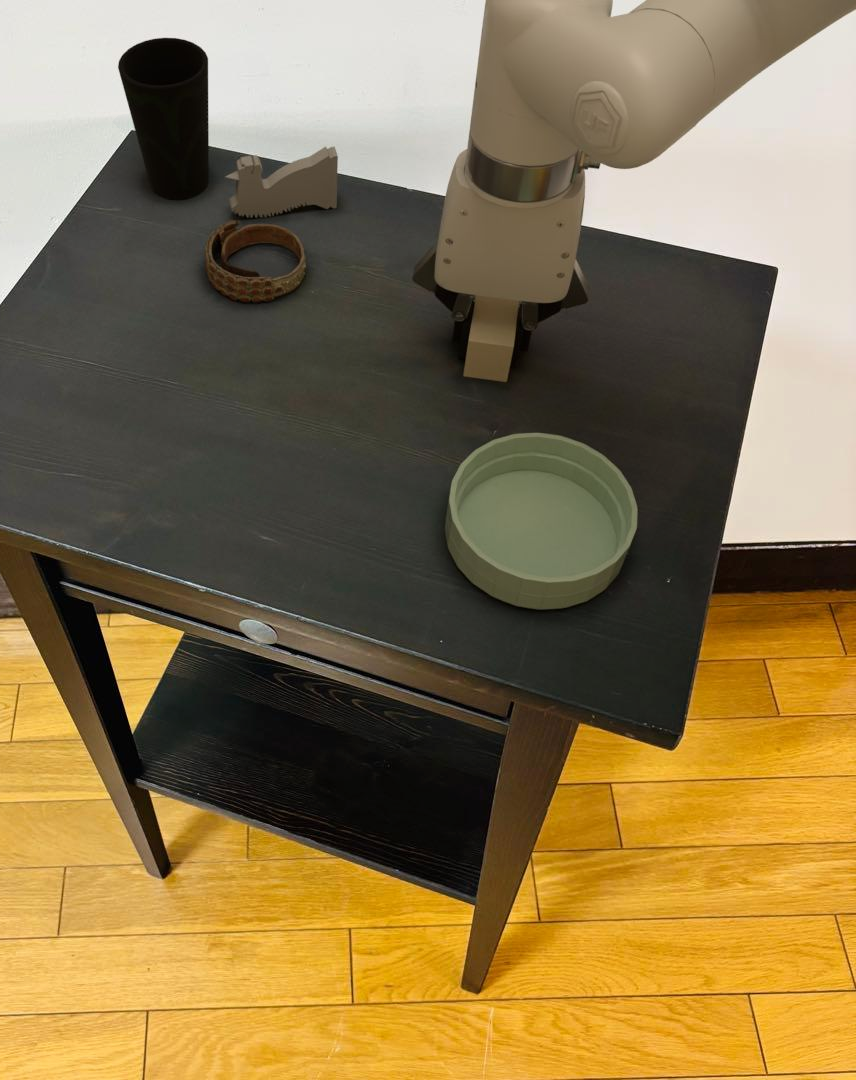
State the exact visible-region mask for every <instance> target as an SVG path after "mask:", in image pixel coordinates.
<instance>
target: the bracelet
mask: <svg viewBox="0 0 856 1080" xmlns="http://www.w3.org/2000/svg"><path fill="white" fill-rule="evenodd" d="M240 224H241V222H240V220H237V221H236V220H234V219H232V220H230V221H227V222H226V223H221V224H220V225H218V226H217V228H216V229H214V230H213V231H212V232H211V233H210V236H209V237H208V238H207V240H206V244H205V247H204V260H205V270H206V274H207V278H208V281H209V282H210V283H211V286H212V287H213V288H214V289H215V290H216V291H219V292H220V293H221V294H222V296H226V297H229V298H230V299H231V300H234V301H237V300H239V301H240V302H243V303H250V302H253V303H255V304H257V303H258V304H259V303H260V302H267V303H268V302H271V301H273V300H275V298H277V297H279V296H282V295H285V294H286V295H287V294H289V293H291V292H293V291H294V290H295V289H297V287H299V285H301V283H302V281H303V279H304V278H305V275H306V272H305V269H307V266H306V265H307V263H306V260H307V258H306V257H307V255H306V254H305V248H304V245H303V244H302V242H301V240H300V238H299V237H298V236H297V235H296V234H295V233H294V232H292V231H291V230H290V229H288V228H287V227H283V226H280V225H278V224H277V225H276V224H271V223H251V224H246V225H244V226H242V227H240V228H237V227H239V226H240ZM262 243H263V244H264V243H268V244H269V243H270V244H275V245H280V246H282V247H285V248H286V249H288V250H291V251H292V252H293V253H294V254H295V256H297V259H298V261H299V263H298V265H297V266H296V267H295V268H294V269H293V270H292V271H290V272H289V273H287V274H285V275H282V276H277V277H276V276H275V277H270V276H267V275H266V276H261V275H260V274H259V272H258V271H255V270H251V269H245V268H242V267H239V266H234V265H232V264H230V263H228V262H227V260H228V258H229V256H230V255H232V254H233V253H235V252H237V251H238V250H240V249H242V248H244V247H246V246H250V245H254V244H262ZM219 255H220V261H221V266H219V264H217V262H216V261H215V260H216V258H217V257H218V256H219Z"/></svg>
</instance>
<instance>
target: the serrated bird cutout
mask: <svg viewBox="0 0 856 1080" xmlns="http://www.w3.org/2000/svg"><path fill="white" fill-rule="evenodd" d="M338 161H339V155H338V152H337V149H336V147H335V146H330V147H329V148H328V147H327V146H324V147H322V148H321V149H319V150H317V151H316V152H314V153H312V154H311V155H310V156H307V157H302V158H300V159H296V160H293V161H292V162H289V163H288V164H285V165H283V166H281V167H280V168H278V169H277V170H275V171H274V172H273V173H272V174H270V175H269V176H268V177H266V178H262V173H263V166H262V161H261V159H260V158H259V156H258V155H257V154H255V155H253V156H252V155H245V156H242V157H239V159H238V160H236V171H234V172H231V173H230V174H227V175H225V176H224V178H227V179H231V180H233V181H235V182H236V183H235V194H234V195H233V196H231V197H230V198H229V204H230V208H231V212H232V213H233V212H234V215H237V214H238V216H239V217H244V216H245V217H246V218H247V219H248V218H251V219H252V218H253V217H254V218H255V219H257V218H258V217H259V218H267V217H274V216H275V215H276V216H278V215H279V214H283V213H284V212H285V213H288V211H289V212H291V211H292V210H294V209H299V208H300V207H302V206H303V207H305V206H312V205H315V206H318V207H320V208H323V209H325V210H328V209H329V208H331V209H337V207H338V169H339V168H338V163H339V162H338ZM291 209H292V210H291ZM283 211H284V212H283Z"/></svg>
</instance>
